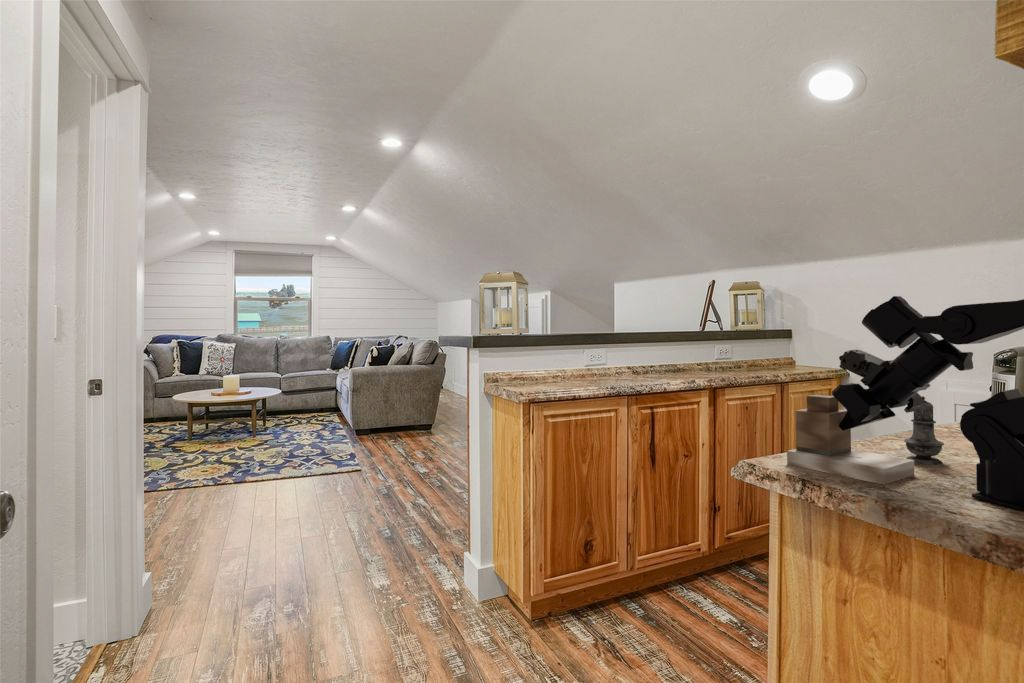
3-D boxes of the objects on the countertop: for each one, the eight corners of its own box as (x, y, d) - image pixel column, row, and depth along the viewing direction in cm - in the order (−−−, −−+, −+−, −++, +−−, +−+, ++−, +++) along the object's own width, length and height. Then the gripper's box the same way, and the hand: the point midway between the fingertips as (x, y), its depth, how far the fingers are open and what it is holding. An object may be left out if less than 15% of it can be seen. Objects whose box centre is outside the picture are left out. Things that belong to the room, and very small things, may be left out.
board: (914, 474, 88) (914, 459, 88) (884, 484, 83) (884, 468, 83) (818, 456, 102) (817, 443, 102) (787, 464, 97) (787, 450, 97)
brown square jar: (851, 451, 95) (850, 396, 95) (829, 456, 91) (828, 399, 91) (817, 445, 100) (816, 393, 100) (796, 450, 97) (795, 396, 96)
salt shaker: (945, 466, 93) (944, 398, 93) (903, 462, 96) (903, 397, 96) (943, 459, 97) (943, 395, 97) (904, 455, 101) (903, 393, 101)
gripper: (900, 332, 93) (836, 389, 102) (843, 334, 83) (779, 397, 93) (956, 379, 86) (882, 436, 96) (901, 387, 77) (825, 449, 86)
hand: (841, 428), depth 93 cm, fingers closed, pressing on brown square jar
